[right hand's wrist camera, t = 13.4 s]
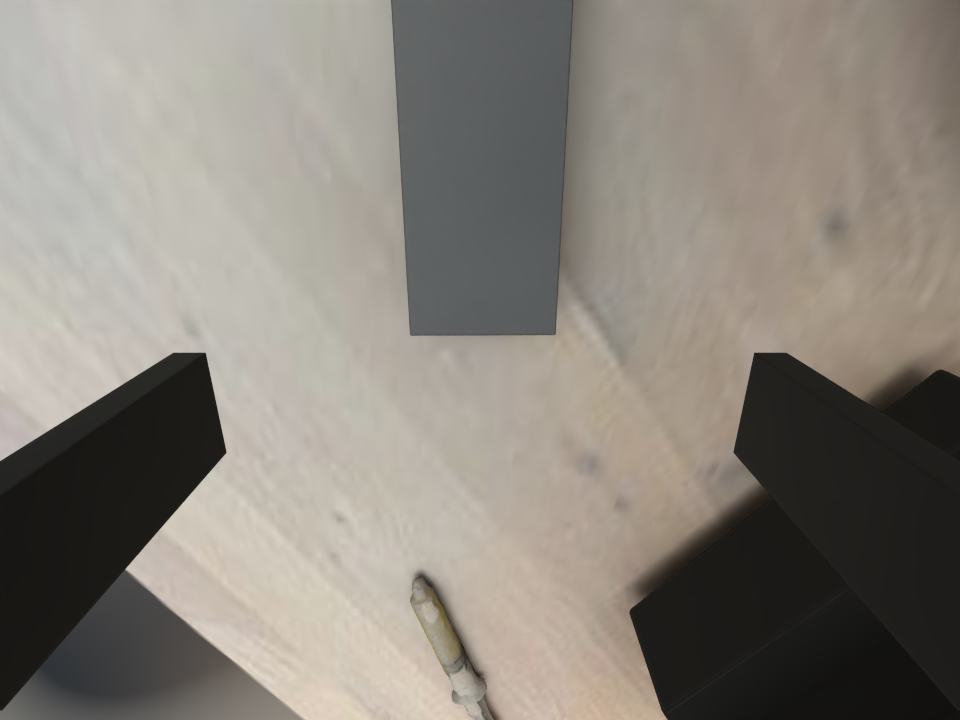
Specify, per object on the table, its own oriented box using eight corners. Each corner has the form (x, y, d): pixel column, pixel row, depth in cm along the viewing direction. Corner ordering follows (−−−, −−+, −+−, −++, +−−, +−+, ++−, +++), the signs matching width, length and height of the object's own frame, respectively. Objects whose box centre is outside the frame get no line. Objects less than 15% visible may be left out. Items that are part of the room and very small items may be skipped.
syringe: (403, 575, 47) (398, 599, 45) (441, 566, 47) (439, 590, 44) (479, 742, 56) (479, 770, 54) (511, 736, 56) (513, 764, 53)
